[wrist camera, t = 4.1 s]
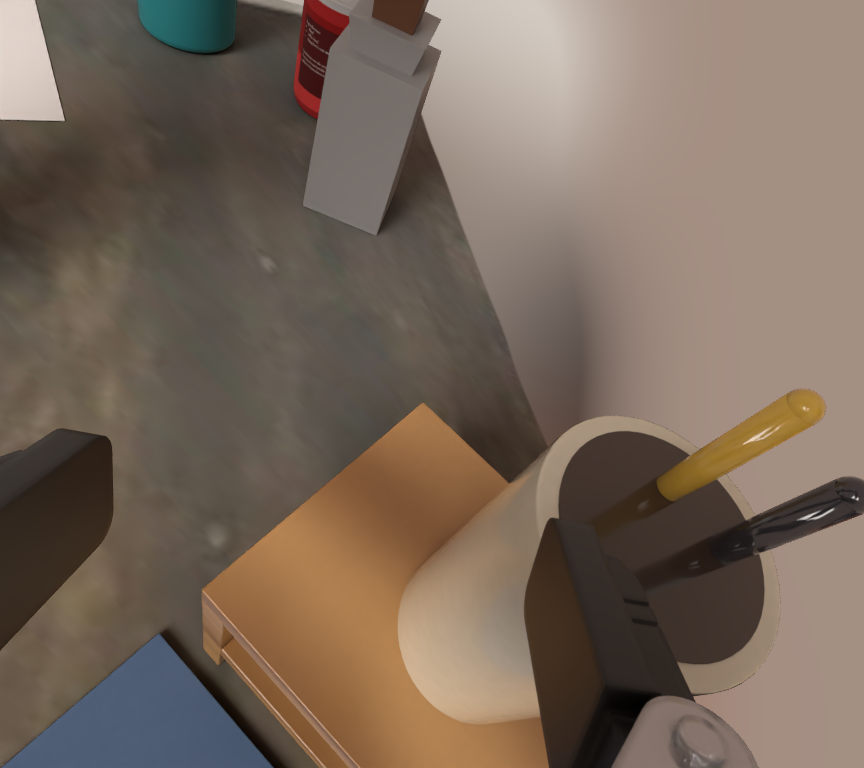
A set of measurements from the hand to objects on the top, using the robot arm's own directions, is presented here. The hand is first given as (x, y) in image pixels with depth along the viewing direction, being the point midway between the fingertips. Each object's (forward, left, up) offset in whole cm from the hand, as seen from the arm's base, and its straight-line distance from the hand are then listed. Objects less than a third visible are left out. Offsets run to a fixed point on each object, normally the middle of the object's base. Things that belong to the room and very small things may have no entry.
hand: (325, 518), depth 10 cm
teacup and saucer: (-9, +55, -23) cm, 60 cm away
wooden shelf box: (+7, -3, -23) cm, 24 cm away
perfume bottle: (+21, +33, -23) cm, 45 cm away
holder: (+7, -3, -11) cm, 13 cm away
